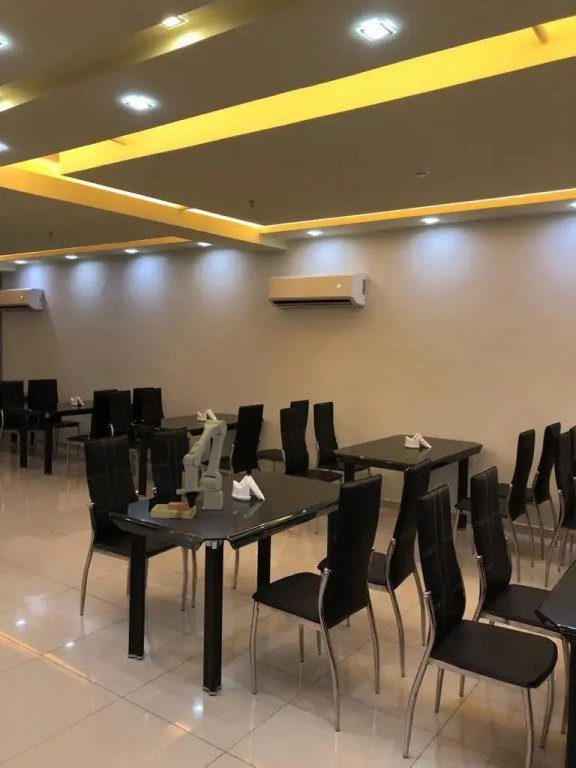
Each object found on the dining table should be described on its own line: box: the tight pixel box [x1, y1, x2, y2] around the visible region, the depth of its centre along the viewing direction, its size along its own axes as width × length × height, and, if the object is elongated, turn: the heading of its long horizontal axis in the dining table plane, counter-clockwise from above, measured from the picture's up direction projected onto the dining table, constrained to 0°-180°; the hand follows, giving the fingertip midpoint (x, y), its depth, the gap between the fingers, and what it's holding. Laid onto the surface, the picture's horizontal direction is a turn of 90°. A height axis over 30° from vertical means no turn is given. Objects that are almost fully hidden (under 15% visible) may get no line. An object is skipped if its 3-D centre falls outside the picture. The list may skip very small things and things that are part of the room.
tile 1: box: [167, 501, 180, 510], centre depth 295 cm, size 4×4×2 cm
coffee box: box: [181, 469, 203, 503], centre depth 324 cm, size 9×6×16 cm
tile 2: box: [177, 501, 189, 510], centre depth 295 cm, size 4×4×2 cm
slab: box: [169, 505, 197, 520], centre depth 295 cm, size 10×13×3 cm
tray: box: [150, 503, 171, 519], centre depth 295 cm, size 9×13×4 cm
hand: (191, 507), depth 295 cm, fingers closed
